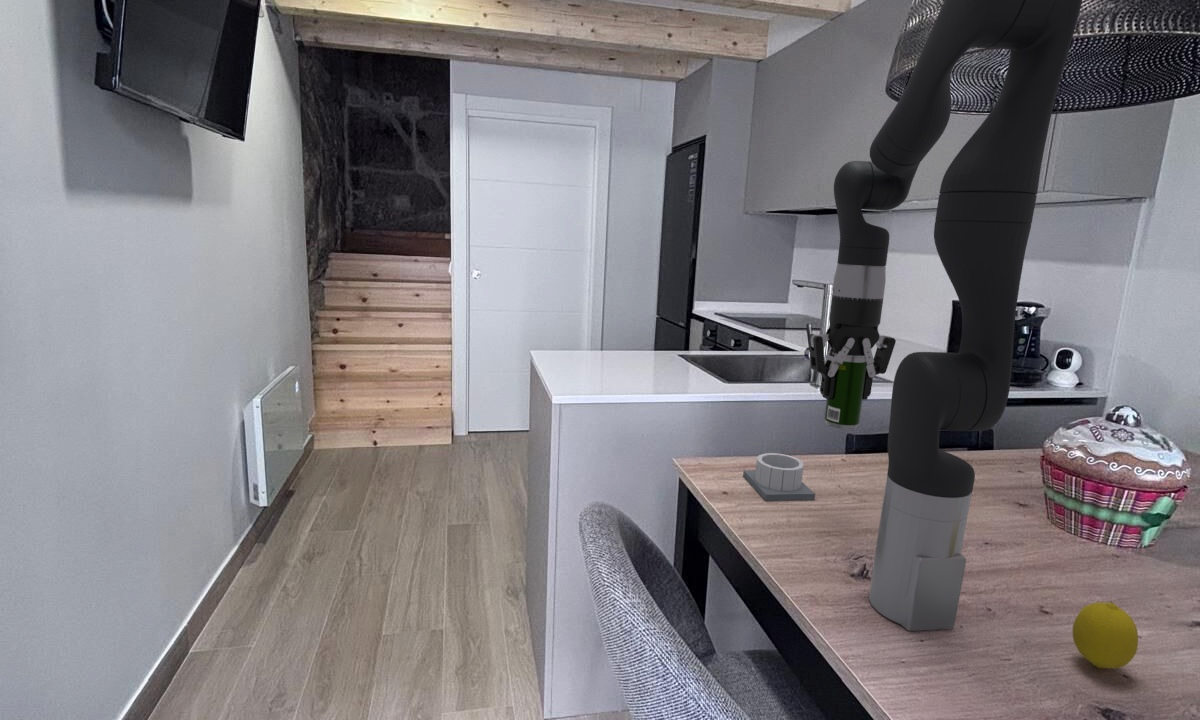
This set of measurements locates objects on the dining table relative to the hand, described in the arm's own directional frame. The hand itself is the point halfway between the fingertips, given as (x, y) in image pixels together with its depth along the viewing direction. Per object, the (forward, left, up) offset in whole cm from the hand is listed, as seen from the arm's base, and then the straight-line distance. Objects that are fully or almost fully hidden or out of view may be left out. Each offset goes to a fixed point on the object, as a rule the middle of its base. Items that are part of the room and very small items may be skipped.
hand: (844, 398), depth 99 cm
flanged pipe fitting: (+11, +4, -20) cm, 24 cm away
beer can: (0, 0, -5) cm, 5 cm away
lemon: (-38, -12, -21) cm, 45 cm away
